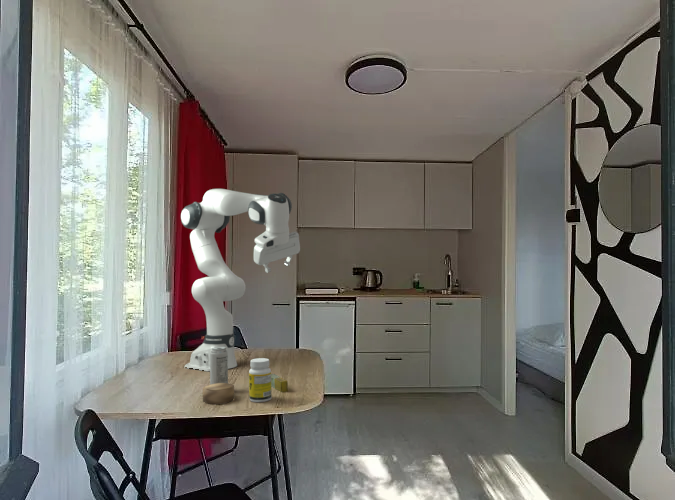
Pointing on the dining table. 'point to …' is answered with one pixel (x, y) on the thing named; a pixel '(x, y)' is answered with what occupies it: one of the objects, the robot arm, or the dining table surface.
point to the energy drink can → (218, 365)
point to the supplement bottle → (260, 380)
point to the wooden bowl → (218, 393)
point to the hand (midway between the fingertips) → (277, 268)
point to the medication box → (279, 383)
